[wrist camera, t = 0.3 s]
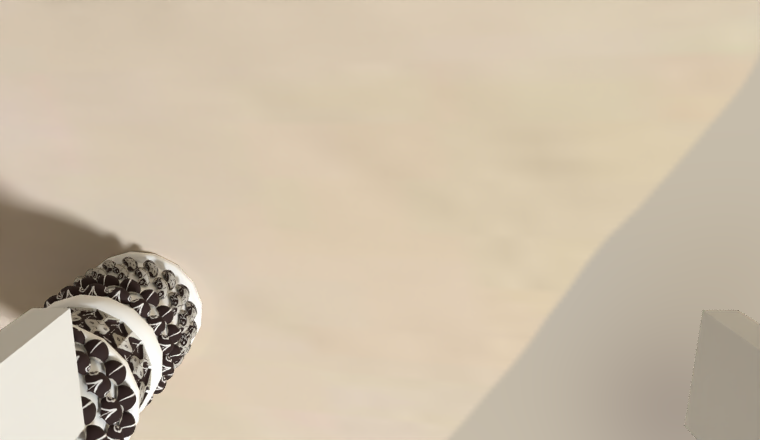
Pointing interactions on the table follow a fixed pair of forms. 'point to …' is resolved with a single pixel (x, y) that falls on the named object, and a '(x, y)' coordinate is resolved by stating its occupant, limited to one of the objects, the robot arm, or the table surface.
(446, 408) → the table surface
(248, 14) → the table surface
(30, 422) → the robot arm
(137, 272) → the decorative candle
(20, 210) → the table surface
